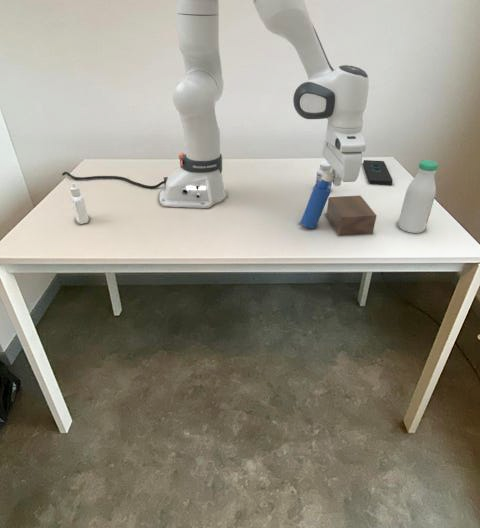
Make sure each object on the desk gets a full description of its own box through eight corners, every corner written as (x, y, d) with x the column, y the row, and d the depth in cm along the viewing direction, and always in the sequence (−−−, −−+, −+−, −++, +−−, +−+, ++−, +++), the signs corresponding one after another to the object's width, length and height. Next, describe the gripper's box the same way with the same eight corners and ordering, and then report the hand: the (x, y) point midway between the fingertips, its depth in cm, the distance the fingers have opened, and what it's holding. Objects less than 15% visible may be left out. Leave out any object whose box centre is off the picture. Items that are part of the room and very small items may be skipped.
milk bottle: (421, 236, 116) (441, 170, 105) (394, 229, 120) (411, 164, 108) (427, 225, 122) (447, 160, 110) (401, 218, 125) (417, 155, 113)
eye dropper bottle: (72, 224, 122) (62, 187, 115) (79, 215, 126) (69, 179, 119) (86, 224, 121) (77, 187, 115) (93, 215, 126) (84, 179, 119)
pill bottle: (330, 187, 144) (333, 160, 138) (331, 193, 139) (335, 166, 134) (314, 186, 144) (317, 160, 138) (315, 193, 140) (318, 166, 134)
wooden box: (339, 235, 116) (342, 217, 113) (326, 214, 127) (328, 196, 124) (372, 233, 117) (376, 215, 114) (357, 212, 128) (360, 195, 124)
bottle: (306, 234, 120) (288, 193, 111) (302, 226, 124) (284, 186, 115) (349, 215, 118) (334, 171, 109) (344, 207, 122) (329, 164, 113)
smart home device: (384, 160, 160) (393, 180, 144) (383, 164, 161) (392, 185, 145) (362, 159, 161) (369, 179, 145) (362, 163, 162) (368, 184, 146)
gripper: (320, 123, 114) (315, 170, 122) (343, 148, 98) (335, 200, 106) (342, 123, 115) (335, 169, 123) (369, 147, 98) (359, 199, 106)
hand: (335, 183), depth 114 cm, fingers closed
